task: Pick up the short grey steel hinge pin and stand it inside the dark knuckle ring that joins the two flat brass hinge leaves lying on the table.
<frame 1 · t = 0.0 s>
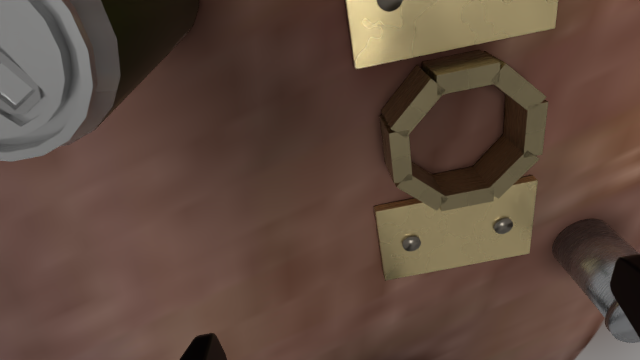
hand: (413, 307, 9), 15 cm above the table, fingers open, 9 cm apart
steel pin: (580, 241, 29), on the table
brass hinge: (451, 125, 23), on the table
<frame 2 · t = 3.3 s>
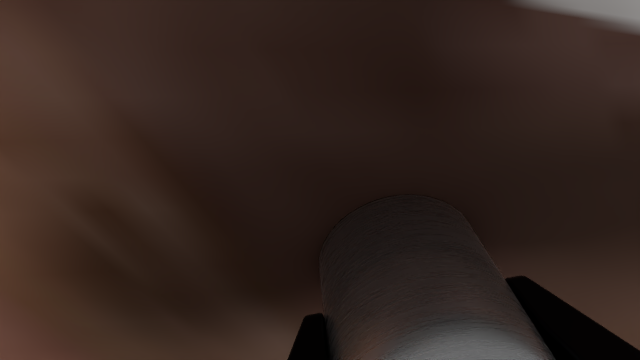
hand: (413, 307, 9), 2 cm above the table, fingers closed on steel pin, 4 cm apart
steel pin: (397, 260, 10), on the table, touching gripper
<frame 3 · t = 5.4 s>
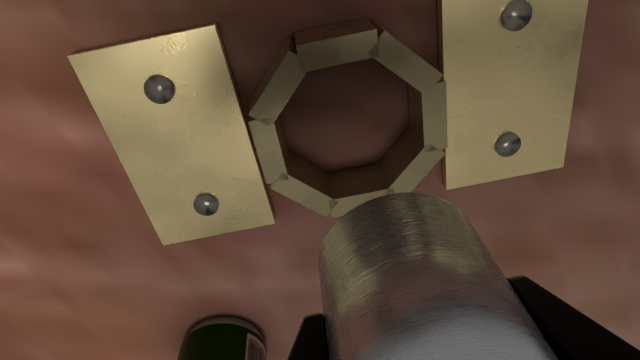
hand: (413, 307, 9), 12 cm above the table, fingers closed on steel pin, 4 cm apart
steel pin: (396, 258, 10), point 10 cm above the table, touching gripper
brass hinge: (344, 113, 19), on the table
beer can: (226, 338, 27), on the table
when the fingers open (3 cm above the table, at t = 7.6 s): steel pin drops 1 cm, resting in brass hinge.
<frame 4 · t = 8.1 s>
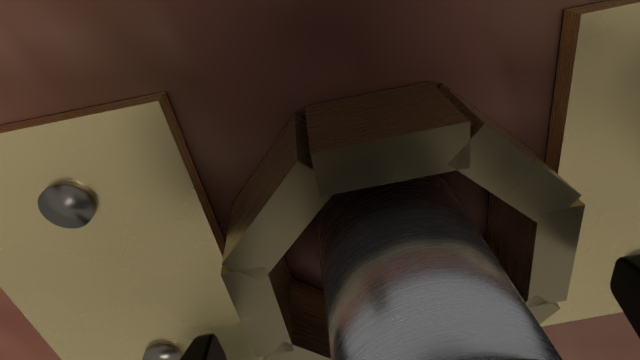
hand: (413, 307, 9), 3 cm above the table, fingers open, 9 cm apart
steel pin: (386, 222, 12), resting in brass hinge
brass hinge: (384, 226, 12), on the table
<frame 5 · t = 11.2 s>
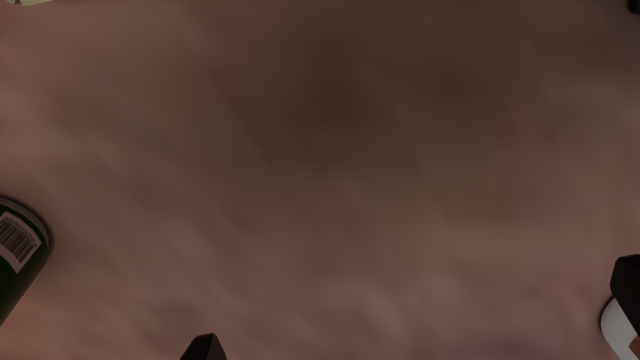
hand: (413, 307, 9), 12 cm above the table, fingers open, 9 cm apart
beer can: (2, 230, 22), on the table
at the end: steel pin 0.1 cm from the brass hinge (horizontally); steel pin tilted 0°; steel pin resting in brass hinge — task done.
